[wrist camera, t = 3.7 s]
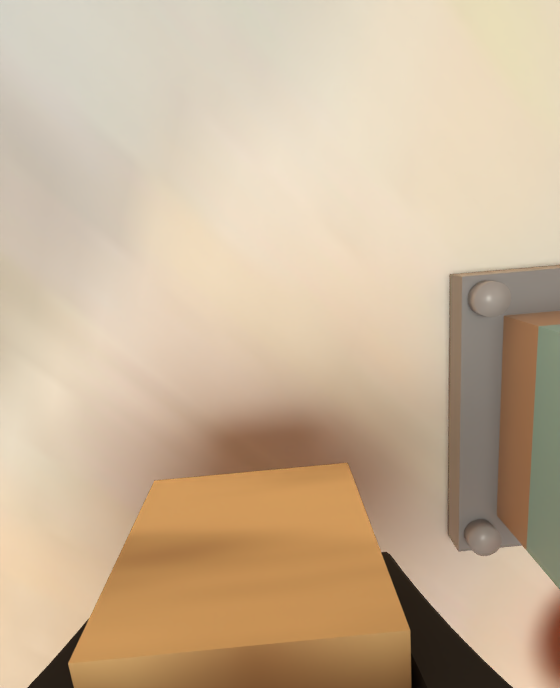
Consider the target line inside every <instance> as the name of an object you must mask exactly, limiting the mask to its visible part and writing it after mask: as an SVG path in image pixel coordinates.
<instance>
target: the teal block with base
mask: <svg viewBox="0 0 560 688" xmlns="http://www.w3.org/2000/svg"><path fill="white" fill-rule="evenodd" d="M448 535H449V537H450V538H451V540H452V542H453V543H454V545H455V546H456V548H457V550H458V551H468V550H473V551H474V552H475V553H476V554H478V555H481V556H488V555H491V554H493V553H495V552H496V551H497V550H498V549H499V548H500V547H511V546H521V545H522V546H523V547H524V548H525V549H526V550H527V551H528V553H529V554H530V555H531V556H532V557H533V559H534V560H535V561H536V562H537V563H538V564H539V566H540V567H541V568H542V569H543V570H544V572H545V573H546V574H547V575H548V576H549V577H550V579H551V580H552V581H553V582H554V583H555V584H556V586H557V587H558V588H559V589H560V265H554V266H542V267H531V268H519V269H508V270H496V271H485V272H473V273H462V274H450V371H449V524H448Z"/></svg>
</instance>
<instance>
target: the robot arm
mask: <svg viewBox="0 0 560 688" xmlns="http://www.w3.org/2000/svg"><path fill="white" fill-rule="evenodd" d="M381 553H382V556H383V559H384V561H385V564H386V567H387V569H388V572H389V575H390V577H391V580H392V583H393V585H394V588H395V591H396V593H397V596H398V599H399V601H400V604H401V607H402V609H403V612H404V615H405V617H406V620H407V623H408V625H409V628H410V640H411V688H513V687H512V686H510V685H509V684H508V683H507V682H506V681H505V680H504V679H503V678H502V677H501V676H499V675H498V674H497V673H496V672H495V671H494V670H493V669H492V668H491V667H490V666H489V665H488V664H487V663H486V662H485V661H484V660H483V659H482V658H481V657H480V656H479V655H478V654H477V653H476V652H475V651H474V650H473V649H472V648H471V647H470V646H469V645H468V644H467V643H466V642H465V641H464V640H463V639H462V638H461V637H460V636H459V635H458V634H457V633H456V632H455V631H454V630H453V629H452V628H451V627H450V625H449V624H448V623H447V622H446V621H445V620H444V619H443V618H442V617H441V616H440V614H439V613H438V612H437V611H436V610H435V609H434V608H433V607H432V606H431V604H430V603H429V602H428V601H427V600H426V599H425V598H424V596H423V595H422V594H421V593H420V592H419V590H418V589H417V588H416V587H415V586H414V584H413V583H412V582H411V581H410V580H409V578H408V577H407V576H406V575H405V573H404V572H403V571H402V569H401V568H400V567H399V566H398V564H397V563H396V562H395V560H394V559H393V558H392V556H391V555H390V554H388V553H387V552H381ZM88 620H89V619H88ZM88 620H87V621H86V623H85V624H84V625H83V626H82V627H81V628H80V630H79V631H78V632H77V633H76V634H75V635H74V637H73V638H72V639H71V640H70V641H69V642H68V643H67V645H66V646H65V647H64V648H63V649H62V650H61V651H60V653H59V654H58V655H57V656H56V657H55V658H54V659H53V661H52V662H51V663H50V664H49V665H48V666H47V667H46V668H45V669H44V671H43V672H42V673H41V674H40V675H39V676H38V677H37V678H36V679H35V680H34V681H33V682H32V683H31V684H30V685H29V687H28V688H74V686H73V682H72V678H71V674H70V670H69V665H68V663H69V660H70V658H71V656H72V654H73V652H74V650H75V648H76V646H77V644H78V641H79V639H80V637H81V635H82V633H83V631H84V629H85V627H86V625H87V622H88Z"/></svg>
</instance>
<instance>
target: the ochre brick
mask: <svg viewBox="0 0 560 688" xmlns="http://www.w3.org/2000/svg"><path fill="white" fill-rule="evenodd" d="M68 665H69V670H70V674H71V678H72V682H73V686H74V688H411V640H410V628H409V625H408V623H407V620H406V617H405V615H404V612H403V609H402V607H401V604H400V601H399V599H398V596H397V593H396V591H395V588H394V585H393V583H392V580H391V577H390V575H389V572H388V569H387V567H386V564H385V561H384V559H383V556H382V553H381V551H380V548H379V545H378V543H377V540H376V537H375V535H374V532H373V529H372V527H371V524H370V521H369V519H368V516H367V513H366V511H365V508H364V505H363V503H362V500H361V497H360V495H359V492H358V489H357V487H356V484H355V481H354V479H353V476H352V473H351V471H350V468H349V465H348V463H339V464H328V465H318V466H307V467H296V468H285V469H274V470H263V471H253V472H242V473H231V474H220V475H209V476H199V477H188V478H177V479H166V480H155V481H154V483H153V485H152V487H151V489H150V491H149V493H148V496H147V498H146V500H145V502H144V504H143V506H142V508H141V510H140V512H139V515H138V517H137V519H136V521H135V523H134V525H133V527H132V529H131V531H130V534H129V536H128V538H127V540H126V542H125V544H124V546H123V548H122V550H121V553H120V555H119V557H118V559H117V561H116V563H115V565H114V567H113V570H112V572H111V574H110V576H109V578H108V580H107V582H106V584H105V586H104V589H103V591H102V593H101V595H100V597H99V599H98V601H97V603H96V605H95V608H94V610H93V612H92V614H91V616H90V618H89V620H88V622H87V625H86V627H85V629H84V631H83V633H82V635H81V637H80V639H79V641H78V644H77V646H76V648H75V650H74V652H73V654H72V656H71V658H70V660H69V663H68Z"/></svg>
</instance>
